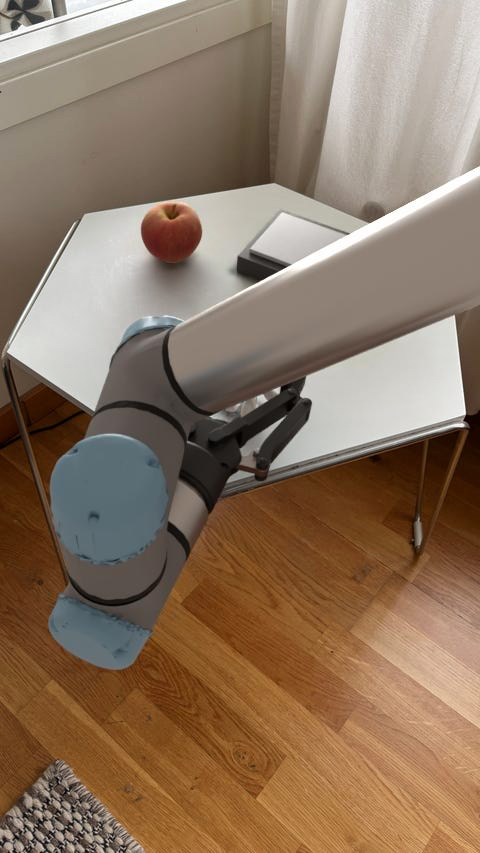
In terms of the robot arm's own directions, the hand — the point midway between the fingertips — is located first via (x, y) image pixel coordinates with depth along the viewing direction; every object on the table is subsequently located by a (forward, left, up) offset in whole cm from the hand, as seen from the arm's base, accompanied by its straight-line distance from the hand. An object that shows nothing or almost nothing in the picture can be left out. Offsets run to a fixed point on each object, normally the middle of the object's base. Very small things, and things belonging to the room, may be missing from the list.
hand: (260, 338), depth 77 cm
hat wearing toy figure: (0, +4, -7) cm, 9 cm away
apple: (+21, -16, -7) cm, 27 cm away
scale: (+5, -24, -7) cm, 25 cm away
